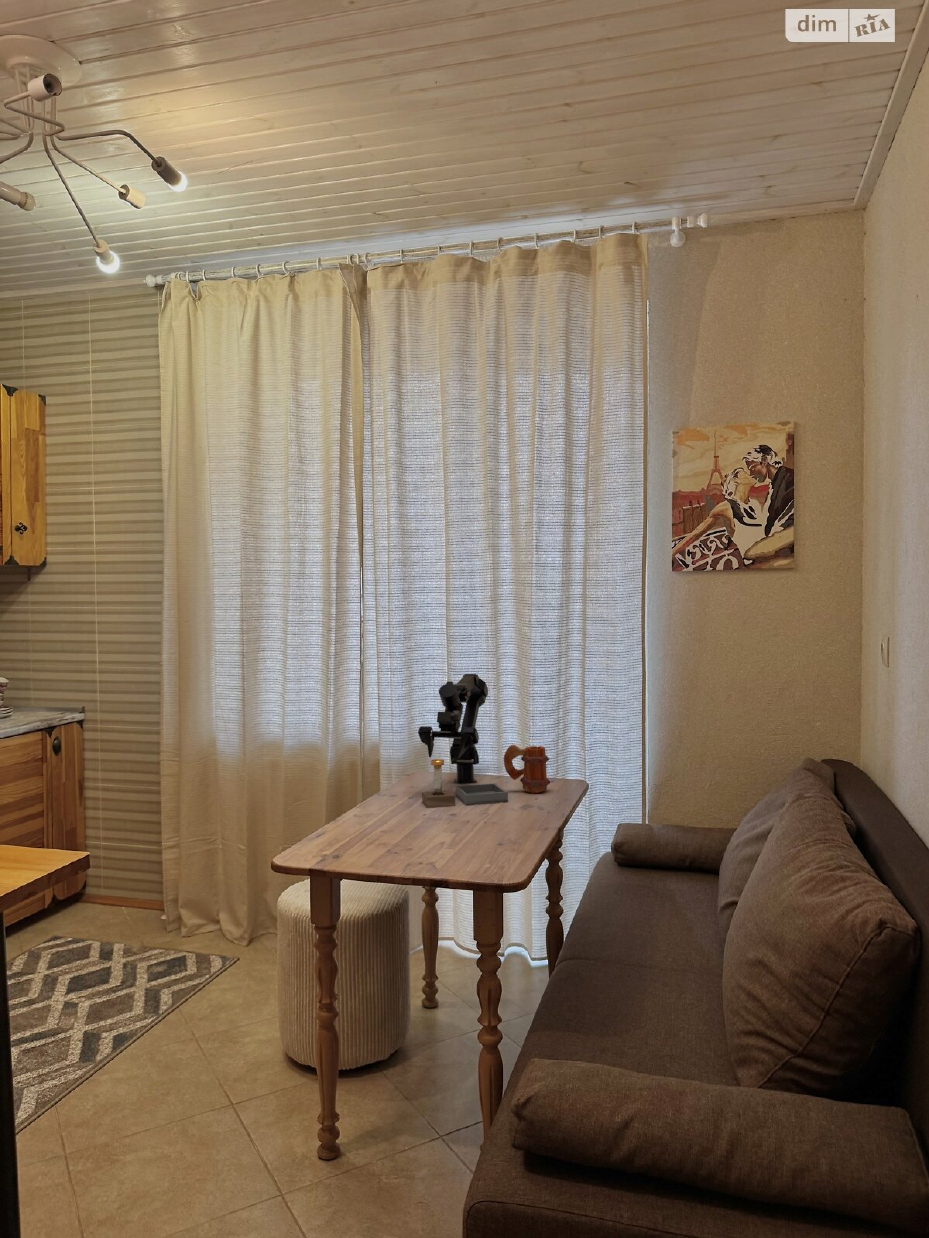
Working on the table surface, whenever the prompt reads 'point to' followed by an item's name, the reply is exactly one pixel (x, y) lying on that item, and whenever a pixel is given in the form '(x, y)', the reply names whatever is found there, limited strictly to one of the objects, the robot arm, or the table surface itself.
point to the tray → (481, 794)
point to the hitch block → (438, 799)
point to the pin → (437, 775)
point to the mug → (528, 767)
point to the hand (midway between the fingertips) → (443, 757)
